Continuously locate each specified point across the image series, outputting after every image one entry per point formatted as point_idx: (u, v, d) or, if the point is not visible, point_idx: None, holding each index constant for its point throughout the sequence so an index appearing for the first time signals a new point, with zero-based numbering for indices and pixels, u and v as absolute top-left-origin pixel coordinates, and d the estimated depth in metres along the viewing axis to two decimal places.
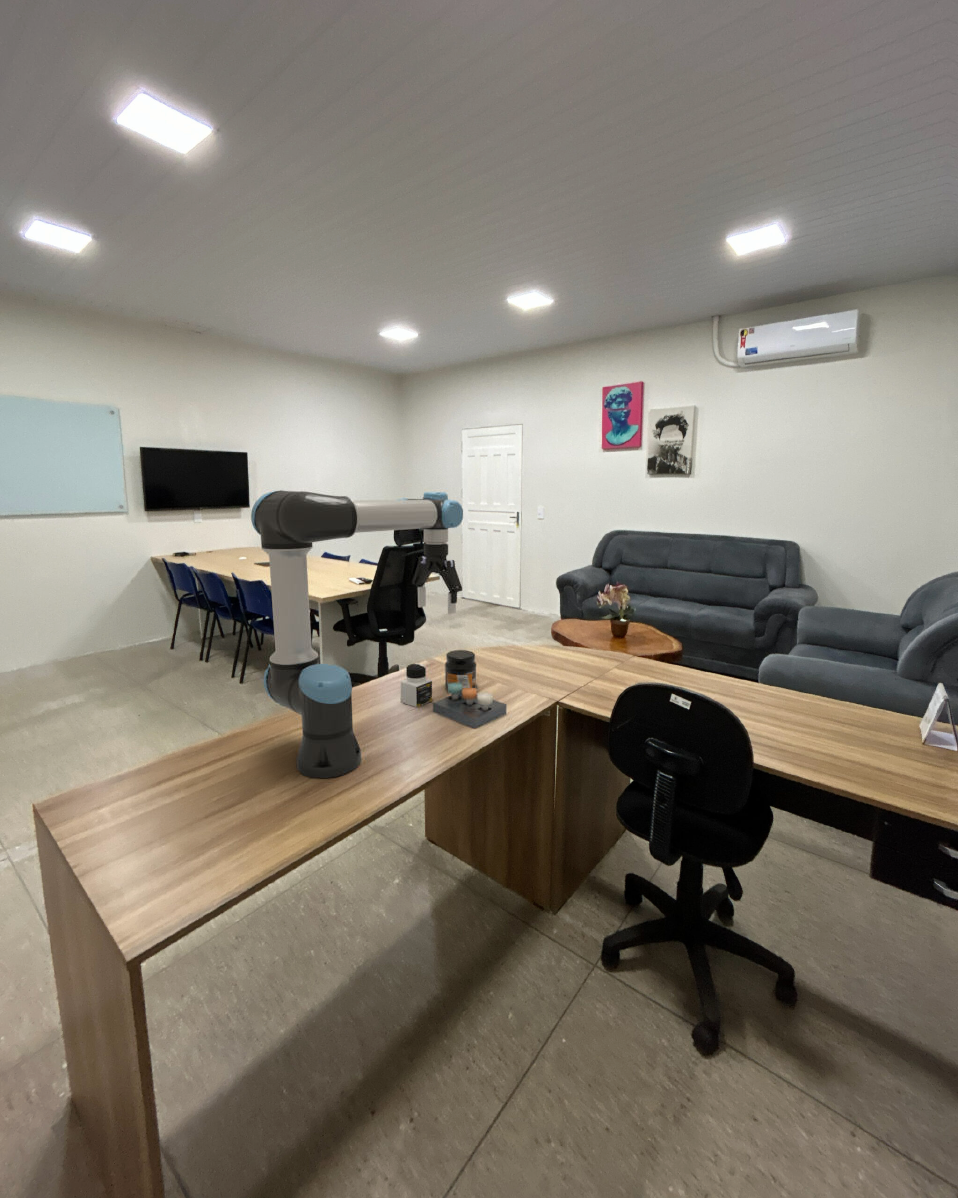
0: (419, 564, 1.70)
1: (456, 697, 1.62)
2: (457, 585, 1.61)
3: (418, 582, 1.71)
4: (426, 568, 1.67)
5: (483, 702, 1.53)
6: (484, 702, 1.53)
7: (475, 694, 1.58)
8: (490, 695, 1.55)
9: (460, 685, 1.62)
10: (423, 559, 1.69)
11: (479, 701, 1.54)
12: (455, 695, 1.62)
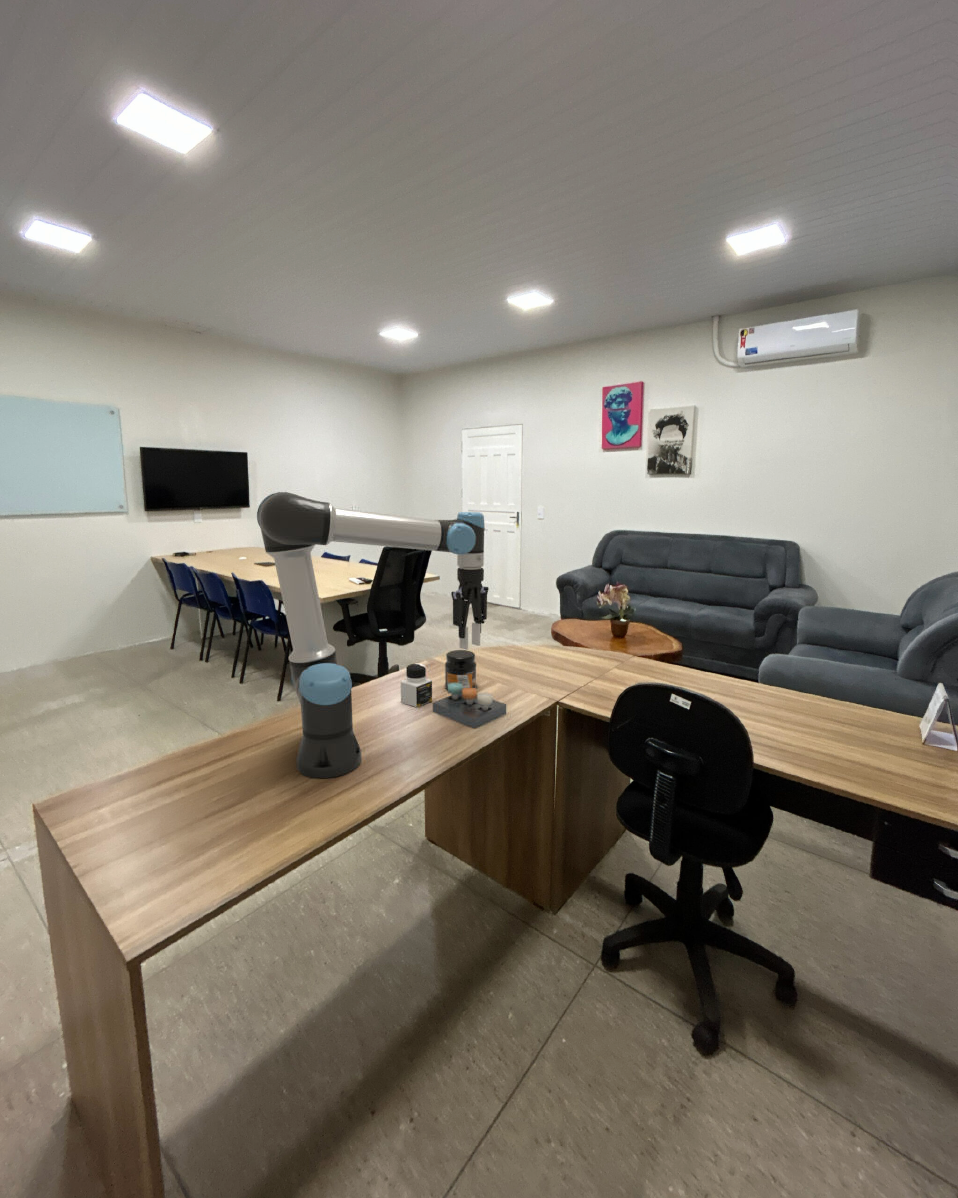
0: None
1: (456, 697, 1.62)
2: (454, 620, 1.50)
3: None
4: None
5: (483, 702, 1.53)
6: (484, 702, 1.53)
7: (475, 694, 1.58)
8: (490, 695, 1.55)
9: (460, 685, 1.62)
10: None
11: (479, 701, 1.54)
12: (455, 695, 1.62)
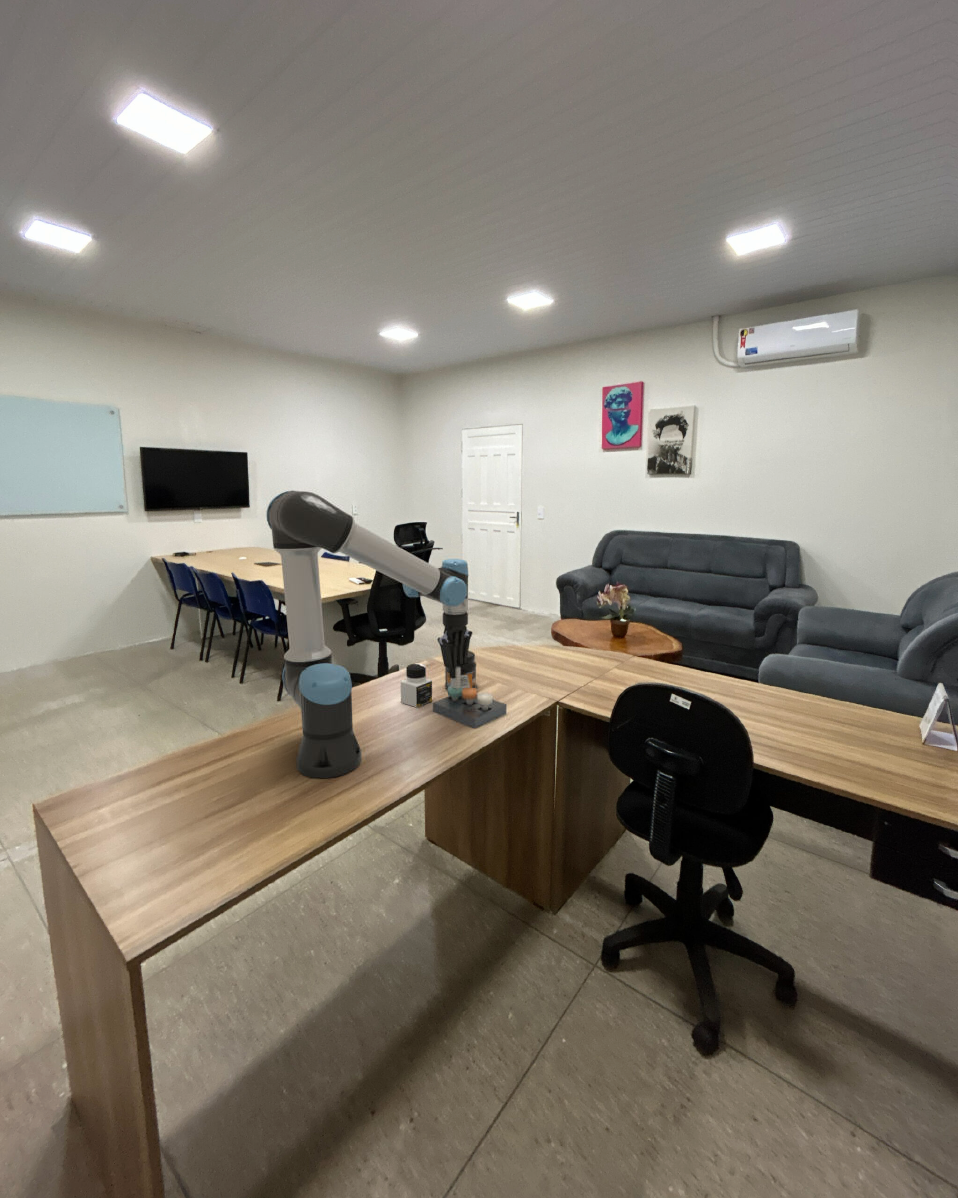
0: None
1: (456, 699, 1.62)
2: (445, 662, 1.58)
3: None
4: None
5: (483, 702, 1.53)
6: (484, 702, 1.53)
7: (475, 694, 1.58)
8: (490, 695, 1.55)
9: (460, 688, 1.62)
10: None
11: (479, 701, 1.54)
12: (455, 698, 1.62)
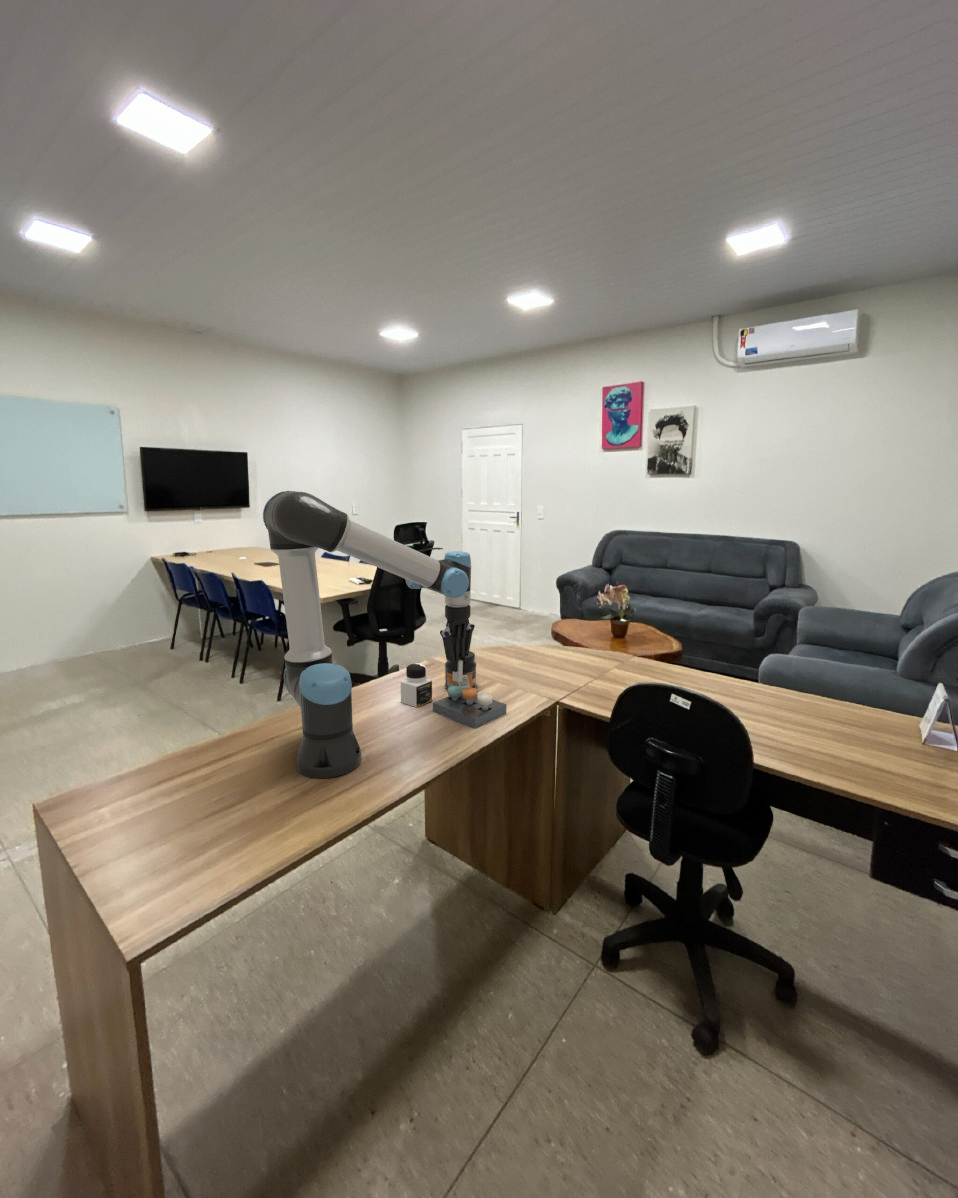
0: None
1: (456, 700, 1.62)
2: (447, 655, 1.57)
3: None
4: None
5: (483, 702, 1.53)
6: (484, 702, 1.53)
7: (475, 694, 1.58)
8: (490, 695, 1.55)
9: (460, 688, 1.62)
10: None
11: (479, 701, 1.54)
12: (455, 698, 1.62)
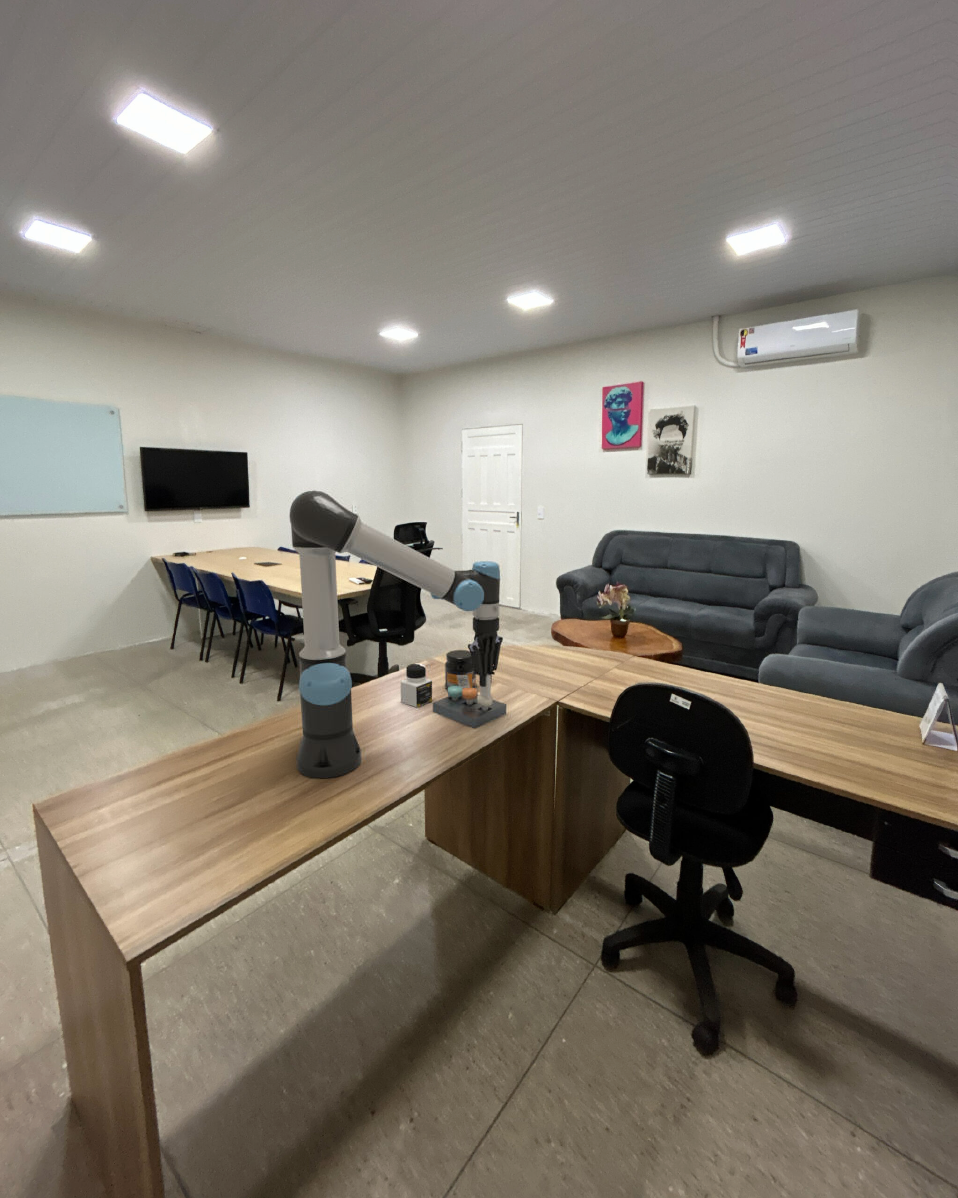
0: None
1: (456, 700, 1.62)
2: (475, 670, 1.50)
3: None
4: None
5: (483, 704, 1.53)
6: (484, 703, 1.53)
7: (475, 694, 1.58)
8: (490, 696, 1.55)
9: (460, 688, 1.62)
10: None
11: (479, 702, 1.54)
12: (455, 698, 1.62)
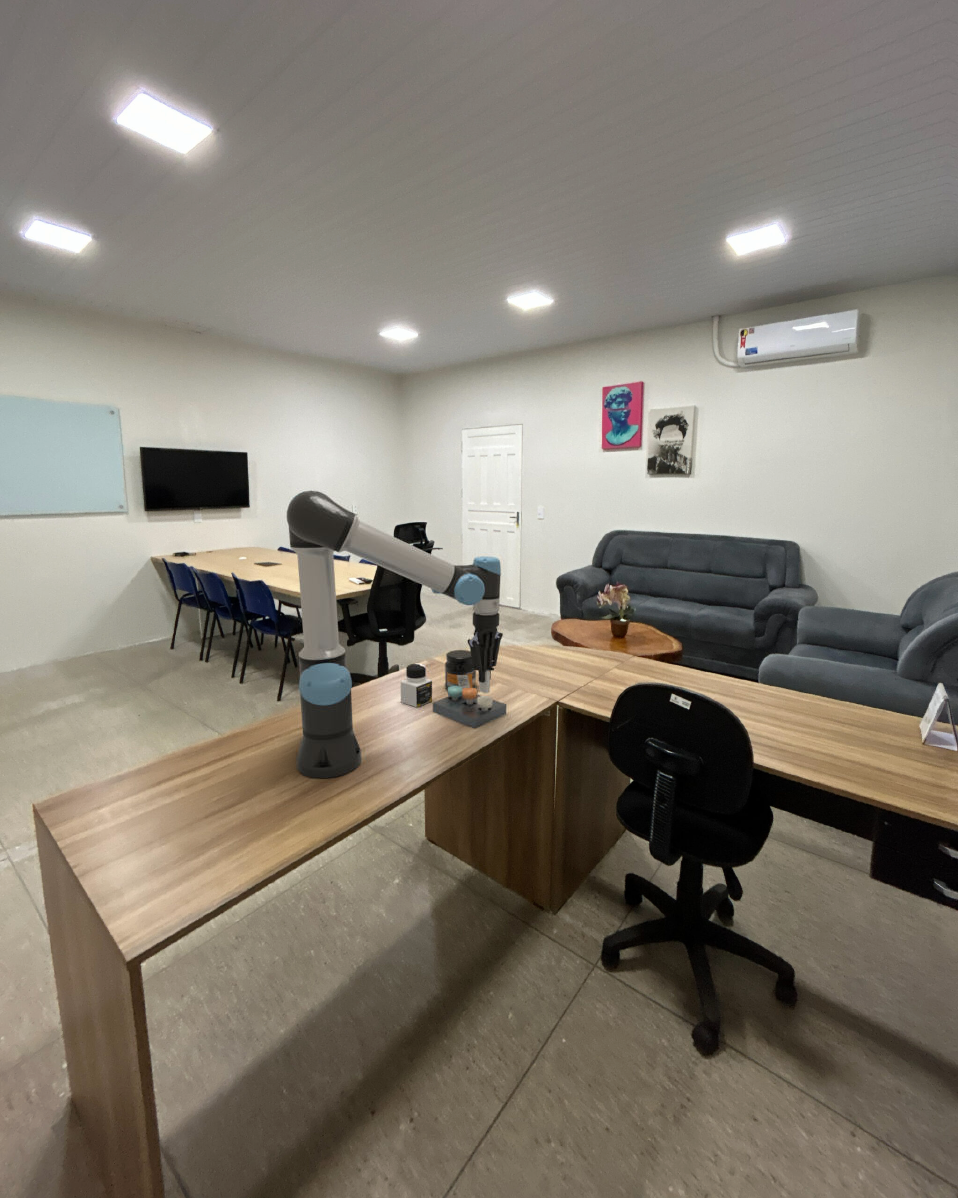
0: None
1: (456, 700, 1.62)
2: (474, 665, 1.50)
3: None
4: None
5: (483, 706, 1.53)
6: (484, 705, 1.53)
7: (475, 694, 1.58)
8: (490, 698, 1.55)
9: (460, 688, 1.62)
10: None
11: (479, 704, 1.54)
12: (455, 698, 1.62)
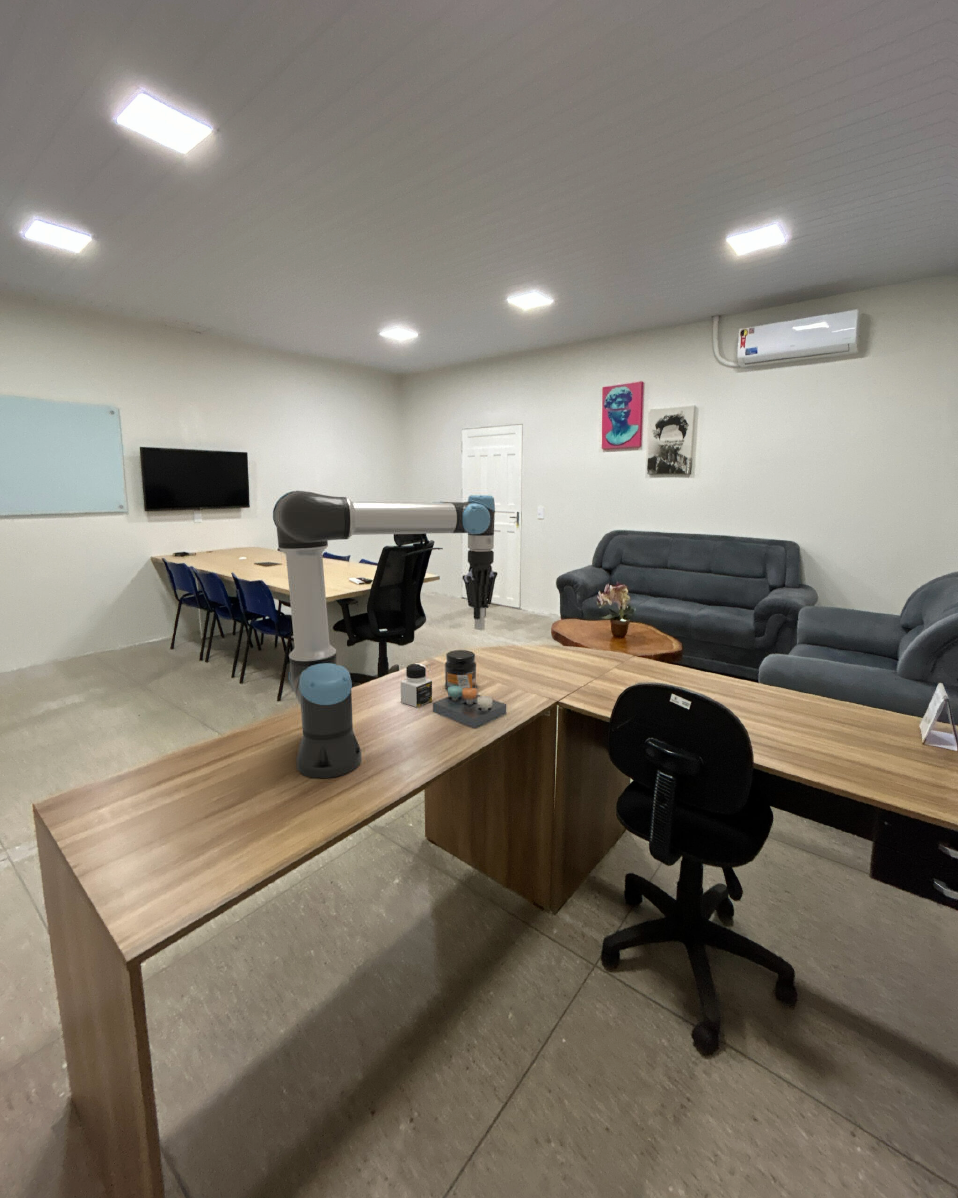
0: None
1: (456, 700, 1.62)
2: (469, 601, 1.54)
3: None
4: None
5: (483, 706, 1.53)
6: (484, 705, 1.53)
7: (475, 694, 1.58)
8: (490, 698, 1.55)
9: (460, 688, 1.62)
10: None
11: (479, 704, 1.54)
12: (455, 698, 1.62)
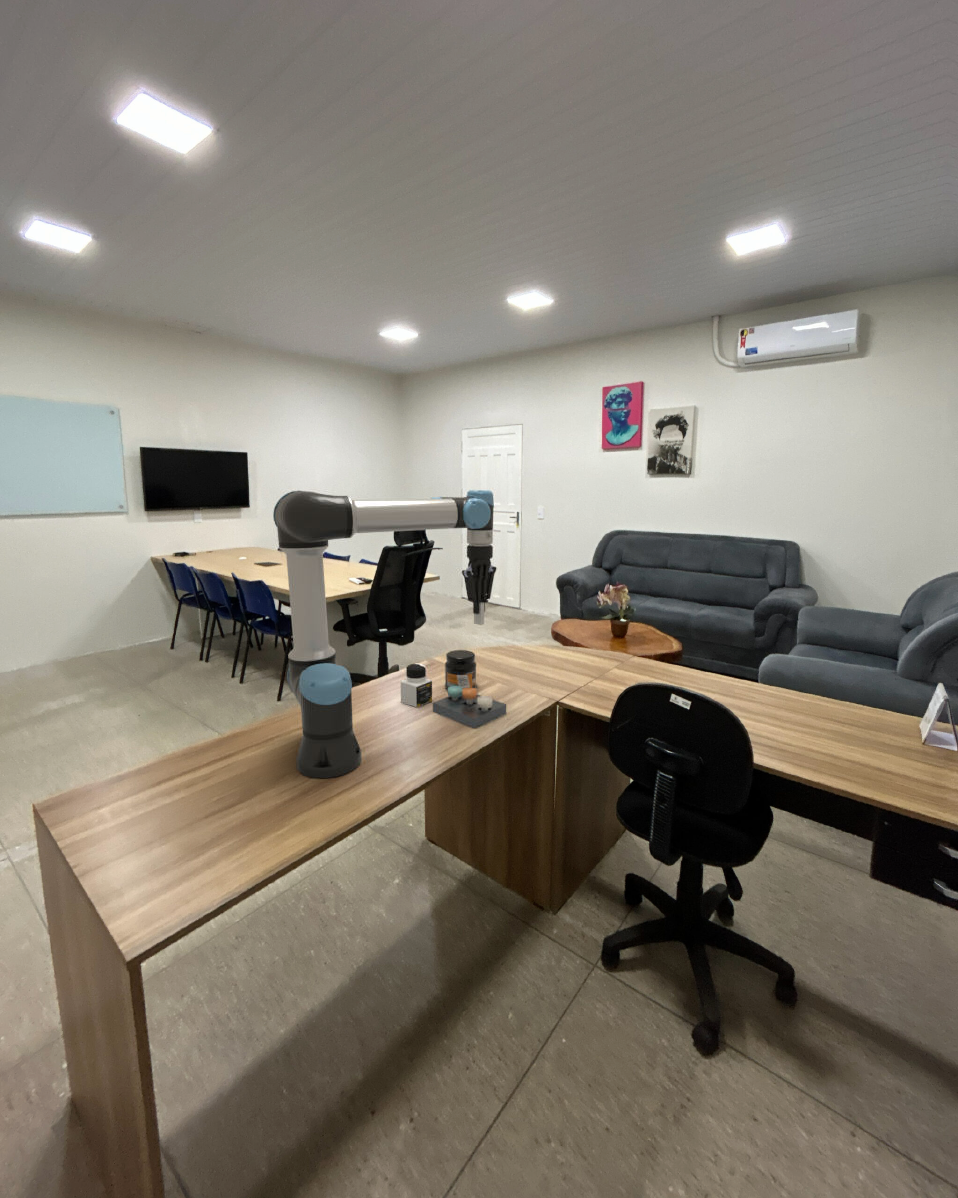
0: None
1: (456, 700, 1.62)
2: (469, 596, 1.55)
3: None
4: None
5: (483, 706, 1.53)
6: (484, 705, 1.53)
7: (475, 694, 1.58)
8: (490, 698, 1.55)
9: (460, 688, 1.62)
10: None
11: (479, 704, 1.54)
12: (455, 698, 1.62)
